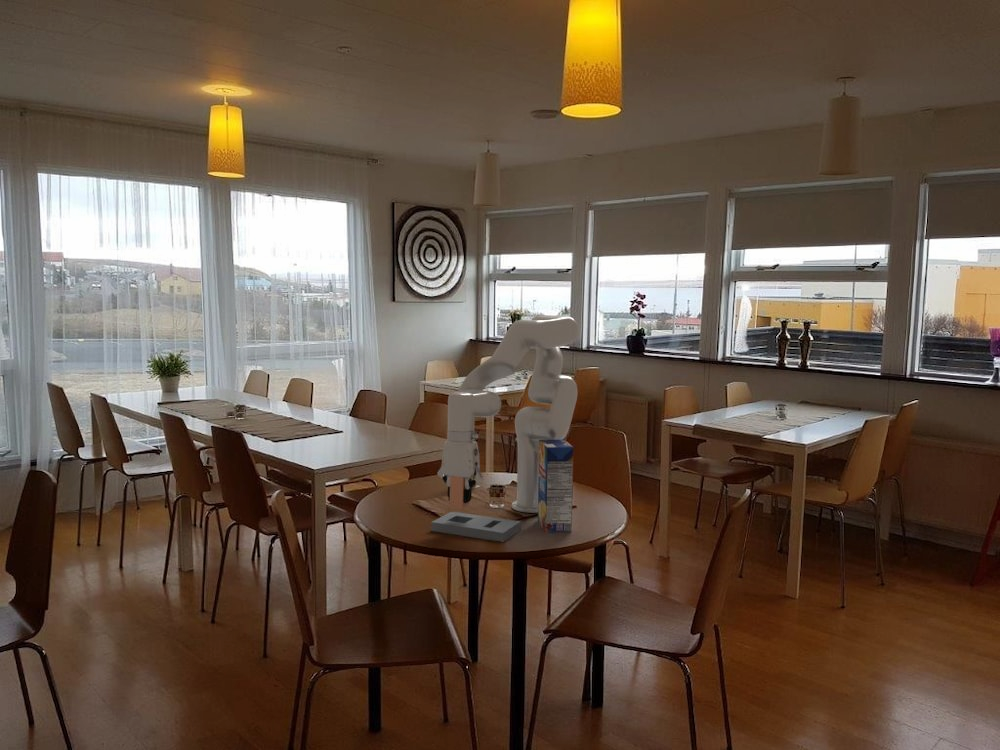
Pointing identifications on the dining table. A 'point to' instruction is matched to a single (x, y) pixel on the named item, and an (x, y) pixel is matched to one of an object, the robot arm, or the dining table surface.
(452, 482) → the square peg
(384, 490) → the dining table surface
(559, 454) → the juice carton
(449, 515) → the socket board
